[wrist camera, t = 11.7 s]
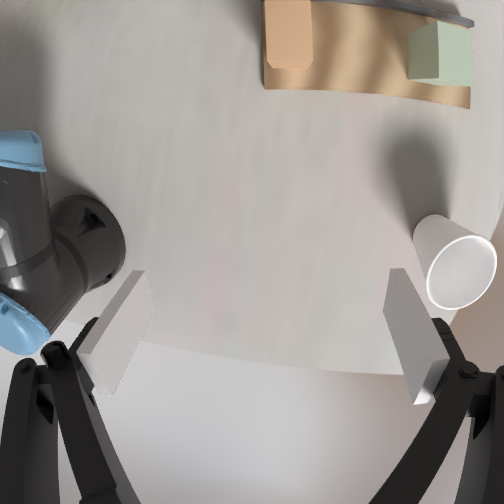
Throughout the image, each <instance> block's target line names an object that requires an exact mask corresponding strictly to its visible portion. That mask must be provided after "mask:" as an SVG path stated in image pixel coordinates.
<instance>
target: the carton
mask: <svg viewBox="0 0 504 504" xmlns="http://www.w3.org/2000/svg"><path fill="white" fill-rule="evenodd" d="M407 43H408V80H411V81H417V82H423V83H428V84H433V85H444V86H470V87H473V43H472V31H471V30H468V29H464V28H461V27H458V26H455V25H451V24H448V23H444V22H441V21H435V22H433V23H430V24H428V25H426V26H423V27H421V28H419V29H416V30H414V31H412V32H410V33H408V34H407Z"/></svg>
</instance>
